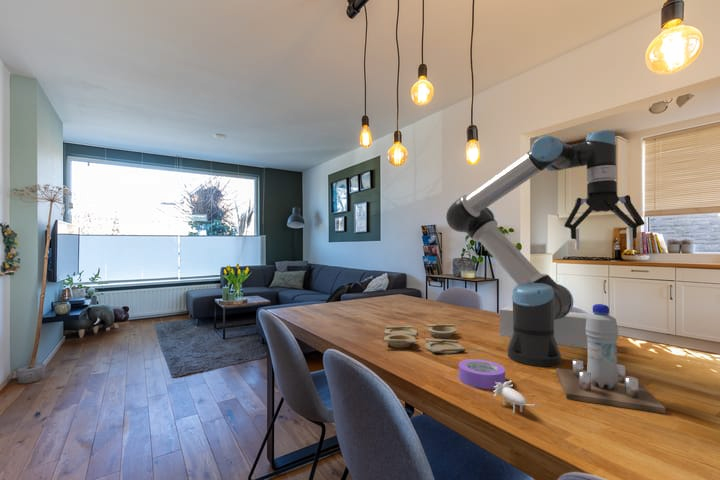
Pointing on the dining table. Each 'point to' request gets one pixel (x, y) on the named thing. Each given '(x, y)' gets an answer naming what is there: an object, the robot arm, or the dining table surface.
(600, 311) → the bottle
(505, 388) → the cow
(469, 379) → the masking tape
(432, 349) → the tableware set
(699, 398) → the dining table surface
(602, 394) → the peg base
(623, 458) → the dining table surface
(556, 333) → the grey rectangular block
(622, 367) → the pegs
